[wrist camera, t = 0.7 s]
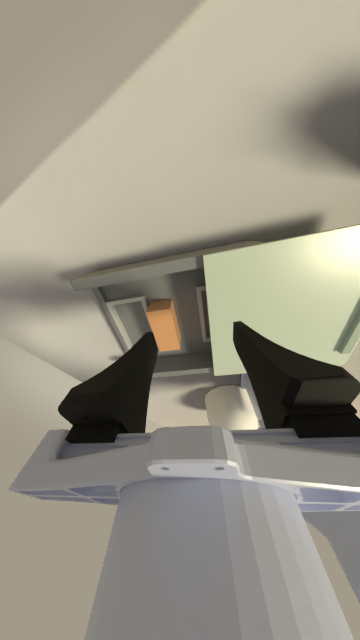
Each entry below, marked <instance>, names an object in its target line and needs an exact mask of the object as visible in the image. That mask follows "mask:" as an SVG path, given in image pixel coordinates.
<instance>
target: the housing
mask: <svg viewBox="0 0 360 640" xmlns="http://www.w3.org/2000/svg"><path fill="white" fill-rule="evenodd" d="M261 243H266V242H259V241H251V240H246V241H241V242H236V243H231V244H226V245H222V246H217V247H212V248H207V249H202V250H197V251H192V252H187V253H182V254H177V255H172V256H167V257H162V258H157V259H152V260H147V261H142V262H137V263H132V264H127V265H123V266H118V267H113V268H108V269H103V270H98V271H93V272H90V273H88V274H85V275H83V276H81V277H78V278H76V279H73V280H71V281H70V283H71V285H72V286H73V288H74V290H75V291H79V290H84V289H90V288H92V289H93V291H94V293H95V295H96V297H97V298H98V300H99V302H100V304H101V306H102V308H103V310H104V312H105V314H106V315H107V317H108V319H109V321H110V323H111V325H112V327H113V329H114V331H115V333H116V334H117V336H118V338H119V340H120V342H121V344H122V346H123V348H124V350H125V352H127V351H128V350H129V349H131V348H132V347H133V346H134V345H135V344H136V342H137V341H138V340H139V339H140V338H141V337H142V336H143V335H144V334H145V333H146V332H153V331H152V328H151V325H150V323H149V320H148V317H147V314H146V311H147V309H148V307H149V305H150V303H151V302H154V301H160V300H166V299H172V300H173V304H174V309H175V313H176V317H177V322H178V326H179V330H180V335H181V344H180V349H179V350H170V351H161V352H160V351H159V348H158V355H157V360H156V364H155V368H154V372H153V376H152V378H157V377H168V376H179V375H190V374H201V373H212V372H214V369H213V359H212V349H211V338H210V328H209V317H208V307H207V297H206V286H205V276H204V265H203V255H205V254H210V253H215V252H221V251H226V250H231V249H236V248H241V247H246V246H251V245H256V244H261ZM155 340H156V339H155ZM156 343H157V342H156ZM157 346H158V345H157Z"/></svg>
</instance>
